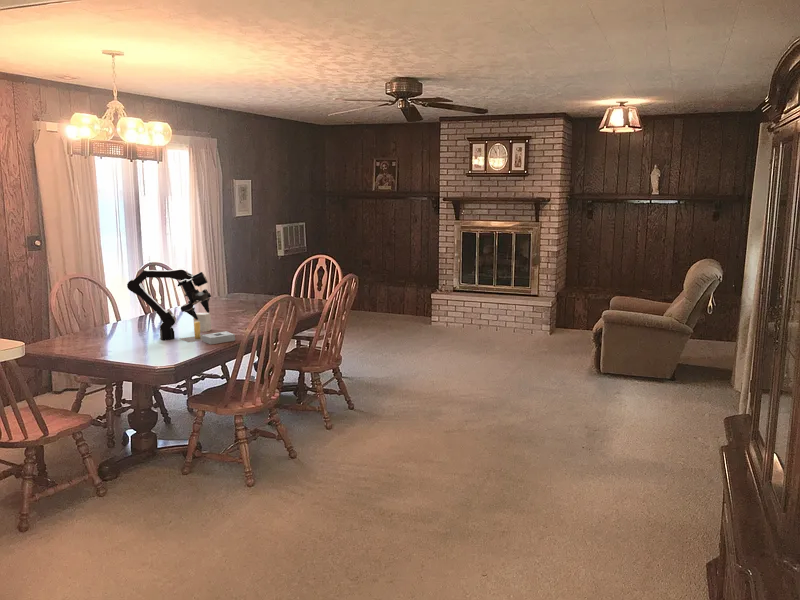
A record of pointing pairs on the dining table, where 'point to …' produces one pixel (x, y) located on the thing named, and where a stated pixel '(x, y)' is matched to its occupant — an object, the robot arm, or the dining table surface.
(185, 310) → the robot arm
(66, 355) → the dining table surface
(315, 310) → the dining table surface
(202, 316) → the small box
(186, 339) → the mat
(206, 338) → the socket block
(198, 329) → the peg
